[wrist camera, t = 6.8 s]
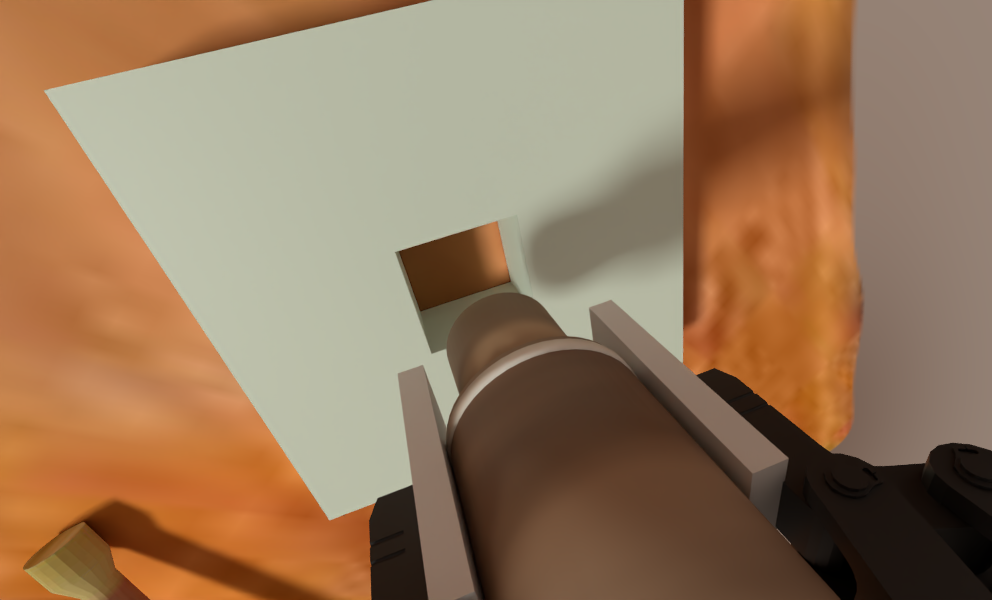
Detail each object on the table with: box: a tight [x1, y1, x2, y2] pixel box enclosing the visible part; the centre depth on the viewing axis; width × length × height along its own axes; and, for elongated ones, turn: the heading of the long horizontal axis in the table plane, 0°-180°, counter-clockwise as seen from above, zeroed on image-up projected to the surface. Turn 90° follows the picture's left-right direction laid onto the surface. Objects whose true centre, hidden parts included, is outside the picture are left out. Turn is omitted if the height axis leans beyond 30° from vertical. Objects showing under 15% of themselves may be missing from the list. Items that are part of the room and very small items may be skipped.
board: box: [44, 0, 684, 520], centre depth 20 cm, size 20×20×4 cm
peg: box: [446, 292, 841, 600], centre depth 10 cm, size 5×5×12 cm
